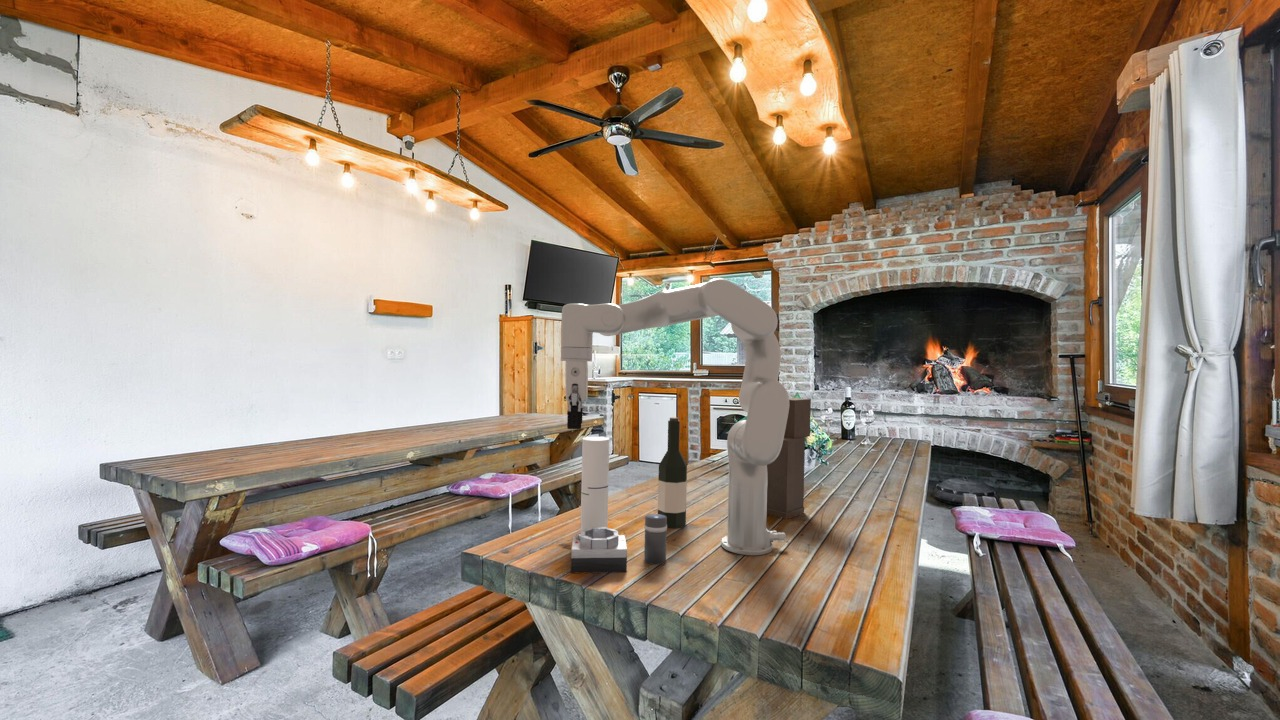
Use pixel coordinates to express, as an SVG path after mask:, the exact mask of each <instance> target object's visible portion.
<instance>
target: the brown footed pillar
mask: <svg viewBox="0 0 1280 720" xmlns="http://www.w3.org/2000/svg"><path fill="white" fill-rule="evenodd" d="M811 400H812V399H811V398H799V397H789V413H788V418H787V424H786V429H785V434H784V439H783V444H782V448H781V451H780V453H779V455H778V457H777V458H776V459H775V460H774V461H773V462H772V463H770V464H768V465H767V473H768V485H767V515H768V514H770V515H769V516H772V515H774V516H773V517H776V516H778V517H777V518H780V517H782V518H781V519H784V518H786V519H785V520H788V518H789V519H791V518H793V516H794V517H796V516H795V515H797V516H799V515H801V514H800V513H802V514H804V513H805V506H804V502H805V500H804V499H805V498H804V495H805V494H804V493H805V459H806V458H805V456H806V454H805V453H806V452H805V451H806V437H807V438H808V437H811V411H812V410H811V409H812V408H811V407H812V406H811V405H812V404H811V403H812V401H811ZM803 512H804V513H803ZM798 514H799V515H798ZM790 517H791V518H790Z"/></svg>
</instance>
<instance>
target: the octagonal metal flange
mask: <svg viewBox="0 0 1280 720" xmlns="http://www.w3.org/2000/svg"><path fill="white" fill-rule="evenodd" d="M570 554H571V558H570V560H571V565H570V573H571V572H603V573H627V572H628V569H627V565H628V547H627V541H626V535H623V534H622V535H619V531H618V530H617V529H613V528H611V527H607V528H606V527H592V528H588V529H585V530H582V531H581V530H580V533H576V534H575V535H572V543H571V553H570Z"/></svg>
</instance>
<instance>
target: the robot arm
mask: <svg viewBox="0 0 1280 720" xmlns="http://www.w3.org/2000/svg"><path fill="white" fill-rule="evenodd" d="M715 316H716V317H717V316H719V317H720V318H722V319H723V320H725V322H728V323H730V326H731V330H732V332H733V334H734V335H735V337H737V338H738V339H739V340H740V342H741V343H742V344H743V347H744V349H745V362H744V370H743V375H742V379H741V386H740V390H739V394H738V395H739V396H738V402H739V406H740V407H741V409H742V410H743V411H744V412H745V413H747V414H746V419H743V420H739V421H736V423H734V424H733V425H732V426H731V427H730V429H729V431H728V434H727V439H726V441H727V442H726V447H727V459H728V491H727V492H728V495H727V497H728V498H727V501H728V502H727V535H725V536H723V537H722V538H721V541H720V545H721V547H722V548H723V549H724V550H726V551H729V552H731V553H734V554H738V555H744V556H762V555H766V554H770V552H772V551H773V542H774V541H778V542H780V541H781V542H782V541H786V539H787V537H786V536H787V535H786V533H785V532H777V530H769V529H768V528H767V515H768V514H767V485H768V473H767V465H768V464H770V463H772V462H773V461H774V460H775V459H776V458H777V457H778V455H779V453H780V451H781V448H782V444H783V439H784V434H785V429H786V424H787V418H788V413H789V398H790V396H789V393H788V391H787V389H786V387H785V386H784V384H782V383H780V382H779V375H780V367H781V360H782V354H781V346H780V343H779V340H778V338H777V335H775V332H776V329H777V327H778V323H779V322H778V316H777V313H776V312H775V310H774V308H773V307H771V305H769V304H768V303H766V302H765V301H763V300H762V299H760V298H758V297H757V296H755V295H754V294H751V293H750V292H749V291H747V290H745V289H744V288H742V287H740V286H739V285H737V284H735V283H734V282H732V281H730V280H728V279H727V278H721V277H718V278H712V279H710V280H709V281H707V282H705V283H704V282H703V283H698V284H695V285H689V286H684V287H679V288H674V289H668V290H662V291H658V292H657V293H654V294H652V295H649V296H648V297H645V298H642V299H639V300H635V301H631V302H626V303H621V304H615V303H608V302H607V303H605V302H604V303H599V304H585V303H567V304H566V303H565V304H564V305H563V307H562V308H561V325H560V326H561V328H560V329H561V333H560V339H561V340H560V361H561V362H565V376H564V377H565V399H566V400H565V401H566V402H567V403H568V408H567V409H568V411H567V414H566V415H567V420H566V421H567V422H566V426H567V429H568V430H580V429H582V424H583V403H584V404H586V403H587V402H588V389H589V388H588V387H589V368H588V367H589V364H588V362H593V337H594V336H593V333H594V334H595V333H596V334H600V335H602V336H604V337H613V336H617V335H622V334H627V333H631V332H636V331H642V330H647V329H655V328H664V327H668V326H672V325H677V324H681V323H682V324H683V323H687V322H692V321H697V320H703V319H707V318H711V317H715Z"/></svg>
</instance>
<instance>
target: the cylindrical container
mask: <svg viewBox="0 0 1280 720" xmlns="http://www.w3.org/2000/svg"><path fill="white" fill-rule="evenodd" d="M581 441H582V446H581V447H582V448H581V451H582V452H581V454H582V455H581V486H580V487H581V492H580V495H581V496H580V501H581V502H580V532H581V531H582V530H585V529H588V528H592V527H606V528H608V525H609V524H608V522H609V521H608V520H609V519H608V518H609V475H610V474H609V472H610V471H609V469H610V438H609V437H606V436H584V437H582V440H581Z"/></svg>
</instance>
